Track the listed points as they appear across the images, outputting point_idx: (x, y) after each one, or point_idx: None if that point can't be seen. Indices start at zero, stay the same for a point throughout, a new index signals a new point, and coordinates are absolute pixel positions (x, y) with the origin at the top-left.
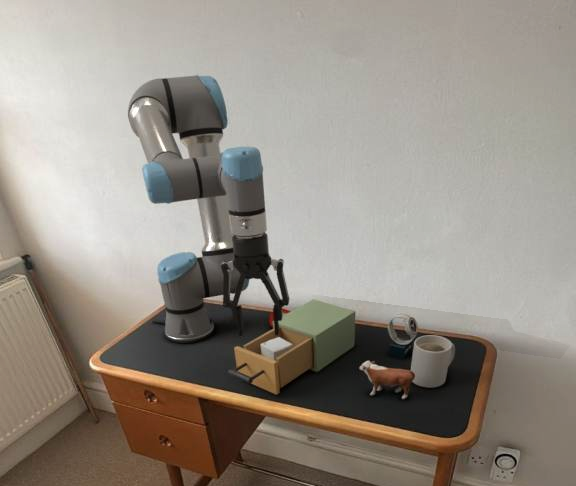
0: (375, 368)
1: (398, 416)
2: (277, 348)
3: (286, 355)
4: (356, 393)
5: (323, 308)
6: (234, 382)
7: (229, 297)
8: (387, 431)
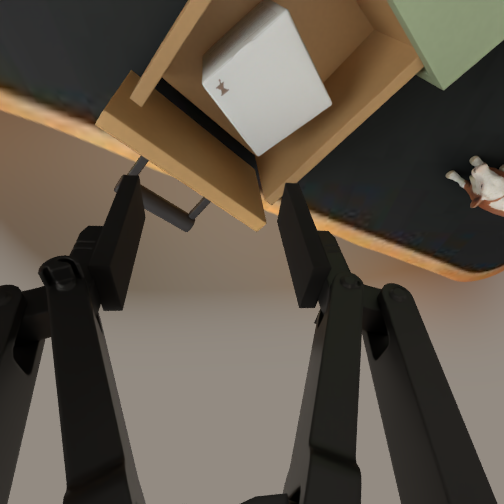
0: (497, 208)
1: (449, 234)
2: (272, 132)
3: (297, 179)
4: (423, 166)
5: None
6: (114, 85)
7: (16, 330)
8: (410, 262)
